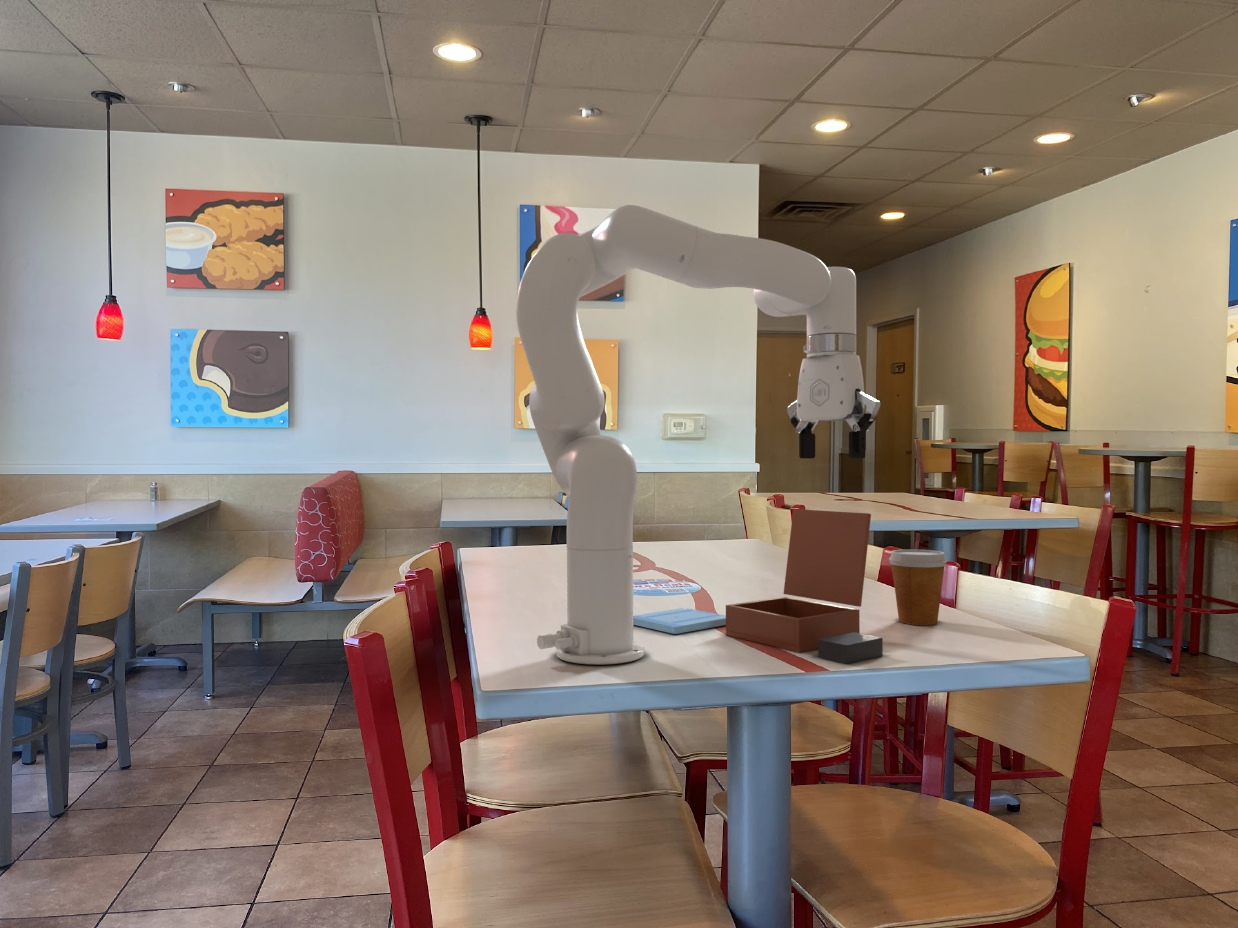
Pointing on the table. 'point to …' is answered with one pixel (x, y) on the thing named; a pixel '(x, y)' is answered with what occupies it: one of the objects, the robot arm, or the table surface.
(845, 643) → the dark grey block
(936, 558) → the disposable coffee cup
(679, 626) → the light blue flat block
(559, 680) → the table surface
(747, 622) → the flip case
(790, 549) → the cover
